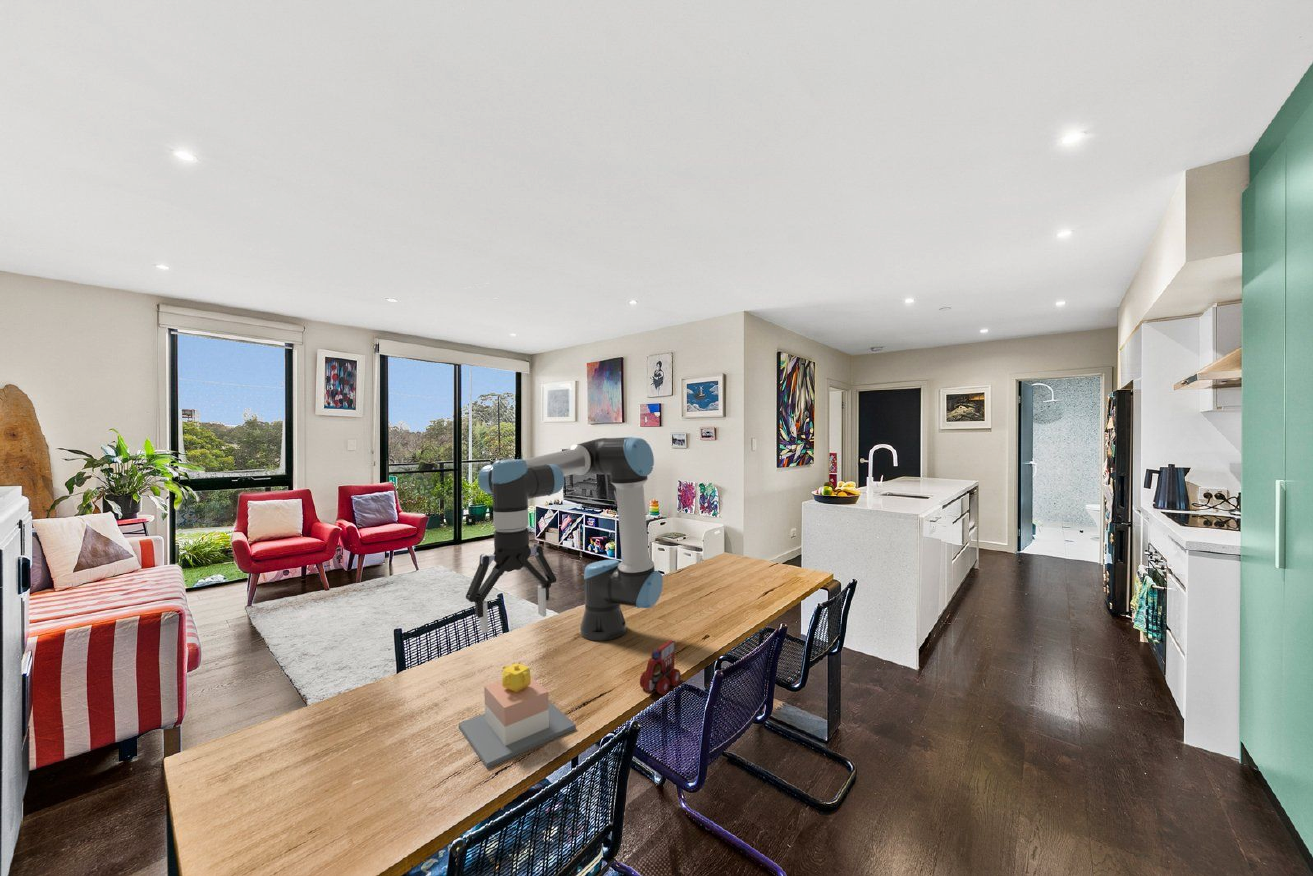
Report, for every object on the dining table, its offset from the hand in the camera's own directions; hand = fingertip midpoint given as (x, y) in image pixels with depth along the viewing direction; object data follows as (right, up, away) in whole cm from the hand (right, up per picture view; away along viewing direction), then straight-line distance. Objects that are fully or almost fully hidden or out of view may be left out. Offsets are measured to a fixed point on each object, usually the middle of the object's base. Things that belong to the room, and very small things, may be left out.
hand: (514, 622), depth 111 cm
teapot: (0, -15, 0) cm, 15 cm away
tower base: (+1, -24, 0) cm, 24 cm away
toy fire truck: (+33, -23, +17) cm, 44 cm away
